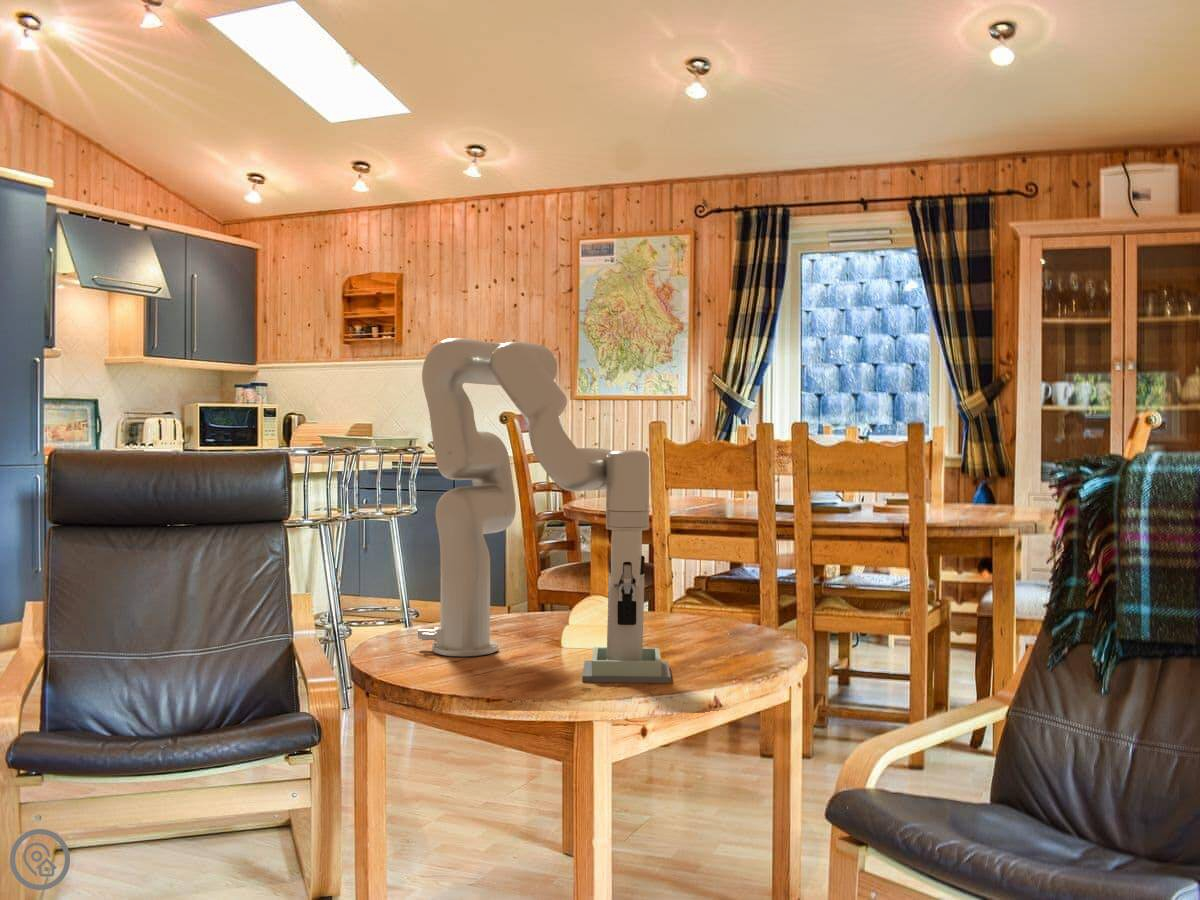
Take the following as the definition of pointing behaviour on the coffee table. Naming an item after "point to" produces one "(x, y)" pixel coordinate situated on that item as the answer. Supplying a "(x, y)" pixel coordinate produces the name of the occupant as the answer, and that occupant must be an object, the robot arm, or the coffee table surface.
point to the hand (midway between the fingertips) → (626, 619)
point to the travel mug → (625, 638)
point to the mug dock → (626, 668)
